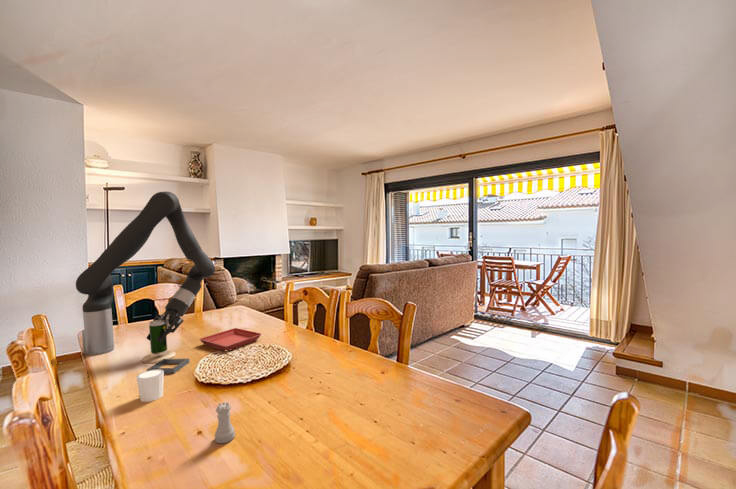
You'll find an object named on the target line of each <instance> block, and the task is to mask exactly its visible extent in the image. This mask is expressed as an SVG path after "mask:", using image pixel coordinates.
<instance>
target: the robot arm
mask: <svg viewBox="0 0 736 489" xmlns="http://www.w3.org/2000/svg"><path fill="white" fill-rule="evenodd" d="M163 219H166V220H167V221H168V222H169V224H170V226H171V228H172V231H173V233H174V236H175V240H176V241H177V244H178V246H179V249H180V250H181V252H182V253H183V256H185V258H186V260H188V261H191V262H193V266H192V267H191V268H190V269H189V271H188V273H187V275H186V278H185V280H184V281H183V283H182V284H181V285H180V287H179V288H178V290H176V291H175V293H174V294H173V295H172V296H171V298H170V299H169V301H168V302H167V303H166V305H165V306H164V309H165V311H164V312H163V313H162V314H160V313H157V314H155V317H154V319H153V320H152V321H155V320H165V327H164V329H163V331H162V332H161V334H160V335H159V336H158V338H157V341H158V342H160V343H162V342H163V340H164V339H165V337H167V336H168V335H169V334H171V333H172V334H174V333H175V332H176V331H177V329H178V328H179V327H180V326H181V325H182V323H183V322H184V319H183V318H182V317H184V316H185V314H186V312H187V311H188V310H189V308H190V306H191V304H192V303H193V302H194V300H195V298H196V296H197V295H198V294H199V292H200V291H201V289H202V281H203V280H204V279H206V278H211V277H212V276H213V275H214V274H215V272H216V267H215V264H214V262H213V261H212V259H211V258H210V256H208V255H207V254H206V252H204V251H203V249H202V247H201V246H200V243H199V242H198V240H197V238H196V237H195V234H194V233H193V230H191V227H190V226H189V223H188V222H187V219H186V217H185V214H184V212H183V209H182V206H181V203H180V201H179V198H178V196H177V195H176V194H174V192H171V191H158V192H156V193H154V194H153V195H152V196H151V197H150V198H149V200H148V201H147V203H146V204H145V206H144V207H143V208H142V210H141V211H140V212H139V214H138V215H137V216H136V217H135V218H134V219H133V220H132V221H131V222H129V223H128V224H127V225H126V226H125V227H124V229H122V231H121V232H119V233H118V235H117V236H115V238H114V239H113V240H112V242H111V243H110V244H109V245H108V246H107V247H106V249H105V250H104V251H103V252H102V253H101V255H100V256H99V257H98V258H97V259H95V261H94V262H93V263H91V265H89V266H88V267H86V269H84V270H83V271H82V272H81V273H80V274H79V275H78V277H77V278H76V281H75V288H76V290H77V292H78V293H79V294H82V295H86V296H87V299H86V300H85V302H84V303H83V304H82V318H83V329H82V331H81V336H82V337H81V338H82V352H83V354H84V355H87V356H95V354H97V355H102V354H106V353H109V352H111V351H113V350H115V339H114V324H113V314H112V312H113V310H112V304H113V300H114V283H113V277H112V275H111V274H112V273H113V272H114V271H115V270H116V269H117V268H119V267H121V266H122V265H123V264H125V263H126V262H128V261H129V260H130V259H131V258H133V257H134V256H135V255H136V254H137V253H138V252H139V251H140V250H141V249H142V248H143V247H144V245H145V244H146V243H147V241H148V240H149V238H150V237H151V234H152V232H153V231H154V229H155V228H156V226H158V224H160V222H162V221H163ZM146 340H148V341H150V332H149V333H148V334H147V336H146Z"/></svg>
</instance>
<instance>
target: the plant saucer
mask: <svg viewBox="0 0 736 489" xmlns="http://www.w3.org/2000/svg"><path fill="white" fill-rule="evenodd" d="M261 335H262V333H261V332H256V331H251V330H246V329H243V328H242V329H241V328H237V327H235V328H234V327H233V328H230V329H228V330H224V331H221V332H217V333H214V334H211V335H207V336H205V337H200V338H199V341H200V342H201V343H202V344H204V345H205V346H206V347H207V346H208V347H210V348H214V349H218V350H221V351H225V350H229V351H231V350H230V349H232V350H234V349H233V348H235V349H237V348H239V347H243V346H245V345H248V344H251V343H254V342H256V341H257V340H258V339H259V338H260V337H261ZM236 347H237V348H236Z"/></svg>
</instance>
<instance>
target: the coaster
mask: <svg viewBox="0 0 736 489" xmlns="http://www.w3.org/2000/svg"><path fill="white" fill-rule="evenodd" d="M176 356H177V354H176V351H172V350H167V351H166V352H165V353H163V354H158V355H153V354H152V353H149V354H148V355H147V354H146V356H143V357H142V359H141V362H142V363H144V364H156V363H158V362H160V361H161V360H163V359H174V358H175V357H176Z"/></svg>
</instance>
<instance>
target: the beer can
mask: <svg viewBox="0 0 736 489" xmlns="http://www.w3.org/2000/svg"><path fill="white" fill-rule="evenodd" d="M164 327H165V320H155V321H153V320H151V321H149V324H148V329H149V333H150V340H149V343H150V344H149V345H150V354H153V355H158V354H163V353H165V352H166V351H168V342H167V341H168V338H167V336H166V337H165V339H164V340H163V342H162V343H160V342H158V341H157V338H158V336H159V335H160V334H161V332H162V331H163V329H164Z"/></svg>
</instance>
